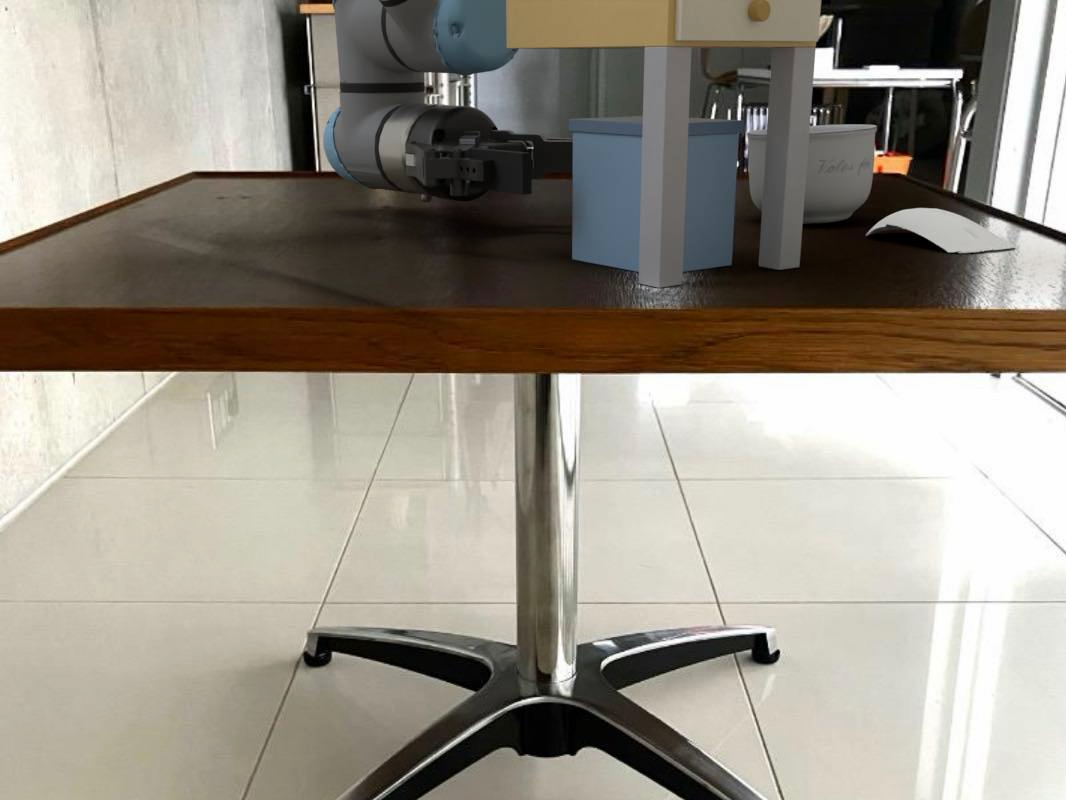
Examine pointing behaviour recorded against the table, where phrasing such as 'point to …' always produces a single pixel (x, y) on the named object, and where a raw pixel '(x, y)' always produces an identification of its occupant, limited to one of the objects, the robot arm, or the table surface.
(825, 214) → the teacup
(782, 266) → the drawer chest
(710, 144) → the storage box
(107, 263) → the table surface
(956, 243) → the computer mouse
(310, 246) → the table surface
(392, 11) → the robot arm
